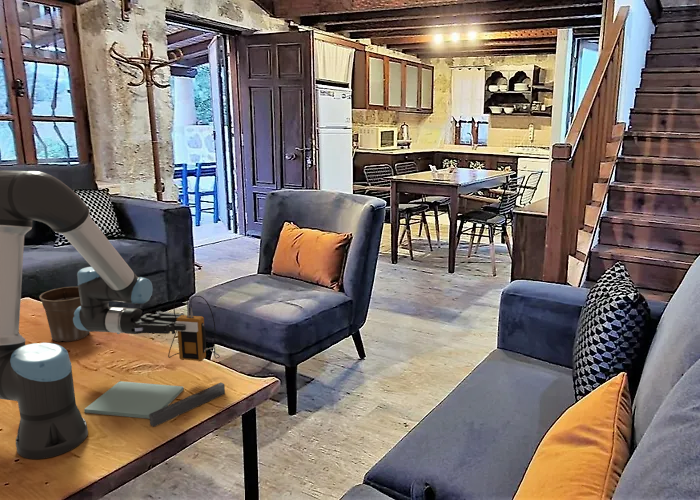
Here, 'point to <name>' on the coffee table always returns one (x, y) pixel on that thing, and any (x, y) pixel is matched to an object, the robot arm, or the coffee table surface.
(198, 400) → the guide rail
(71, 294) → the plant pot
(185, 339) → the corded orange upright block
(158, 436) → the coffee table surface
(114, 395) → the plate
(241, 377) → the coffee table surface
